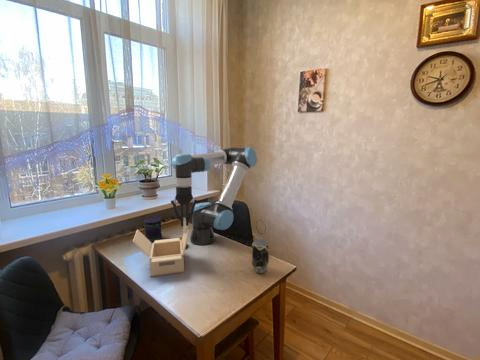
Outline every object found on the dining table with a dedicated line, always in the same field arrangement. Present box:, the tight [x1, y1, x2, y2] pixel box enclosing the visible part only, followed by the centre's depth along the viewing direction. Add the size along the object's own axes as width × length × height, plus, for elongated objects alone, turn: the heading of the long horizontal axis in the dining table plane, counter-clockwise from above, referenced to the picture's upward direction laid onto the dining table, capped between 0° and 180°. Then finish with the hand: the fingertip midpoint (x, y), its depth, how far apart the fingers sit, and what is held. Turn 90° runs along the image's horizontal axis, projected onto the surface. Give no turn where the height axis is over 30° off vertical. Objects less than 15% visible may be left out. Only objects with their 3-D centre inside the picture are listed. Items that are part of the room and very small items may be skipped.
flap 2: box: [181, 225, 190, 253], centre depth 124 cm, size 10×15×1 cm
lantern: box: [251, 219, 270, 274], centre depth 119 cm, size 9×8×25 cm
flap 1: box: [132, 229, 152, 257], centre depth 119 cm, size 10×15×1 cm
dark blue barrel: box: [143, 216, 163, 245], centre depth 150 cm, size 10×10×15 cm
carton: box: [149, 237, 185, 278], centre depth 124 cm, size 15×25×9 cm, turn 16°
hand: (184, 232), depth 124 cm, fingers closed
